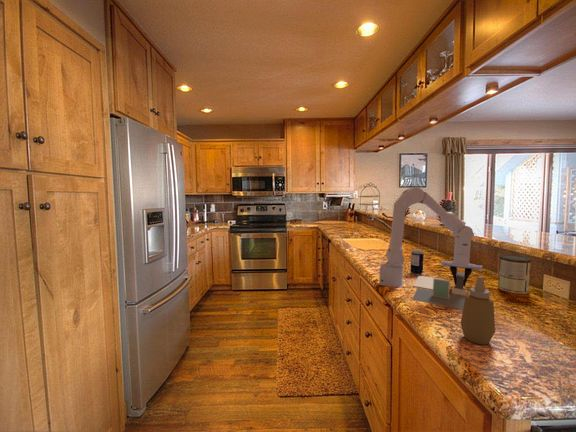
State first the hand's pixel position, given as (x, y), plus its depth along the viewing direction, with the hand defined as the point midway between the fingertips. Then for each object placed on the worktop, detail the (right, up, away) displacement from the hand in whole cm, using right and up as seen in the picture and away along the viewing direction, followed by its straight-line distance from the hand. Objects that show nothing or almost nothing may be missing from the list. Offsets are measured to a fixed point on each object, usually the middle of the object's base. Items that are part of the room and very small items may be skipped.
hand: (459, 284), depth 118 cm
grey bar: (-1, -2, -1) cm, 2 cm away
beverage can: (-8, 0, +23) cm, 24 cm away
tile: (-13, -2, -10) cm, 17 cm away
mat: (-14, -3, -12) cm, 19 cm away
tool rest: (-11, -1, +7) cm, 13 cm away
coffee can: (+23, -2, 0) cm, 23 cm away
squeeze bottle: (-20, -6, -40) cm, 45 cm away
